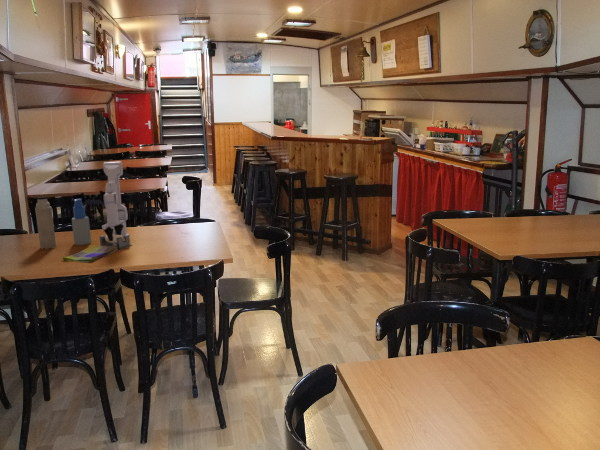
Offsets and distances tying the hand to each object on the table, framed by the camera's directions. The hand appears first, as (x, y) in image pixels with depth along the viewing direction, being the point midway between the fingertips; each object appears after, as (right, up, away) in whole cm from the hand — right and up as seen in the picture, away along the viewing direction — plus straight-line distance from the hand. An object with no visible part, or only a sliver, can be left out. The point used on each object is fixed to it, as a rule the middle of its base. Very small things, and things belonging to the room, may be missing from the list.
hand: (114, 239), depth 306 cm
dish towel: (-7, -8, -15) cm, 19 cm away
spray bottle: (-21, -2, +10) cm, 23 cm away
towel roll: (0, 0, 0) cm, 0 cm away
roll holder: (0, -4, +1) cm, 4 cm away
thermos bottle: (-37, -5, +2) cm, 37 cm away
